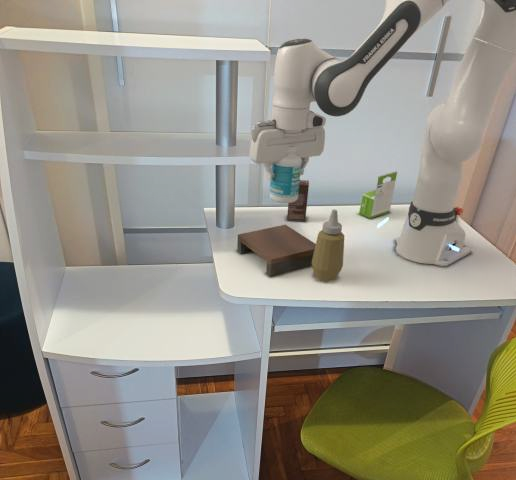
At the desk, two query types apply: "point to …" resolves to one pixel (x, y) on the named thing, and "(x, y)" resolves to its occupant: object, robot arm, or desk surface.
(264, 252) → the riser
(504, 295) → the desk surface
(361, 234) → the desk surface
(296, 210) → the box
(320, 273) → the squeeze bottle
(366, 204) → the ink box
